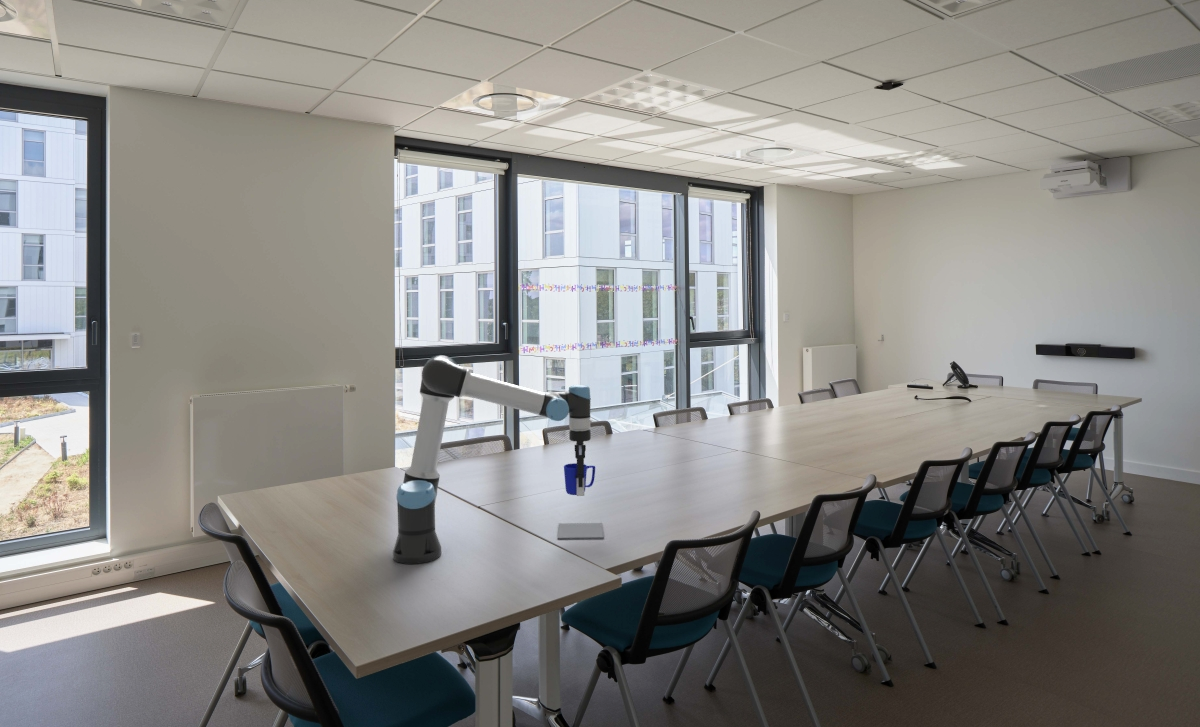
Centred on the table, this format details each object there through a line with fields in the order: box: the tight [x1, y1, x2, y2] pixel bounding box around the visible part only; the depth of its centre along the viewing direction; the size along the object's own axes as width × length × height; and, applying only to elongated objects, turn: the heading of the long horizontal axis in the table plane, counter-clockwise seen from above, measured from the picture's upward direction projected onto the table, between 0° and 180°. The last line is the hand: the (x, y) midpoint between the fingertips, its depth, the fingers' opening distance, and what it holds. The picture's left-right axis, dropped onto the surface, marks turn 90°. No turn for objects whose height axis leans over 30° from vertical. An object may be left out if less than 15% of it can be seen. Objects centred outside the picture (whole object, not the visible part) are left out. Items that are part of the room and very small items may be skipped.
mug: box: [563, 462, 596, 496], centre depth 250 cm, size 8×12×10 cm
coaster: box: [557, 522, 605, 541], centre depth 250 cm, size 16×16×1 cm
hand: (580, 492), depth 249 cm, fingers closed on mug, 7 cm apart
